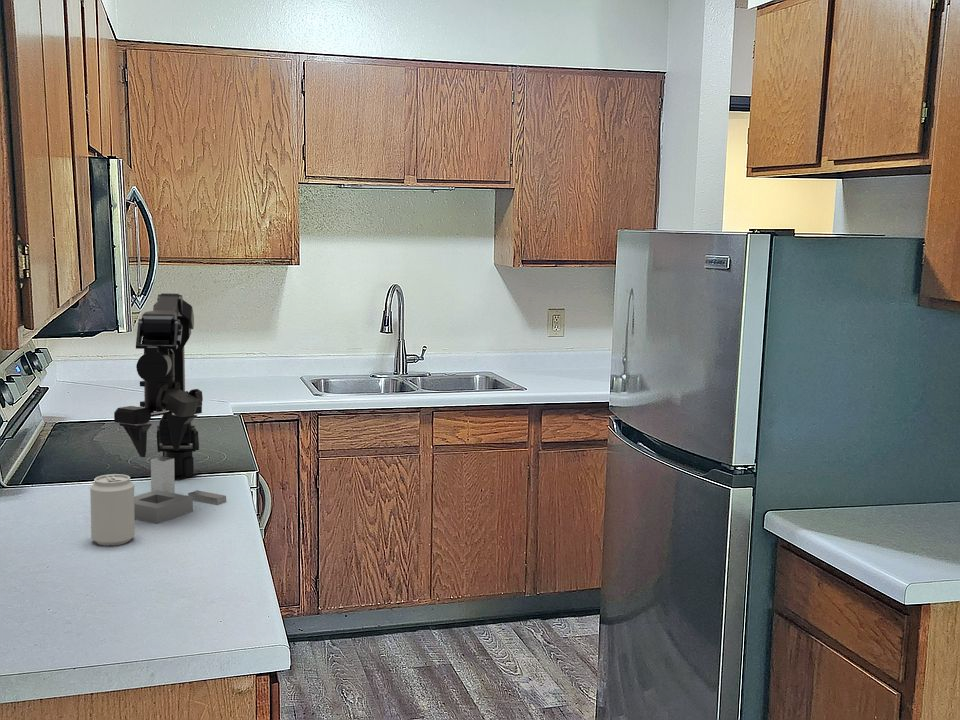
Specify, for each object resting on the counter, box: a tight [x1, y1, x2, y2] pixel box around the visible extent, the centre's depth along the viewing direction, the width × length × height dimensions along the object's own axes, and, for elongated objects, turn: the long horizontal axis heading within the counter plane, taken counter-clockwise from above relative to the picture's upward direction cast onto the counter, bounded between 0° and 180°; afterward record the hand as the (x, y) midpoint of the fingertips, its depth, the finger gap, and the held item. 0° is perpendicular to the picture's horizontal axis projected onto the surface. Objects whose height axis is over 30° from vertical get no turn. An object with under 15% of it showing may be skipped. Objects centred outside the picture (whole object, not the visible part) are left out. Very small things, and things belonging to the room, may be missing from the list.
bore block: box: [134, 490, 194, 524], centre depth 195 cm, size 10×10×3 cm
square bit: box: [150, 455, 176, 494], centre depth 208 cm, size 3×3×8 cm
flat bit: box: [187, 489, 227, 506], centre depth 205 cm, size 8×3×2 cm, turn 64°
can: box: [89, 473, 136, 547], centre depth 177 cm, size 8×8×12 cm
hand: (159, 453), depth 194 cm, fingers open, 9 cm apart
